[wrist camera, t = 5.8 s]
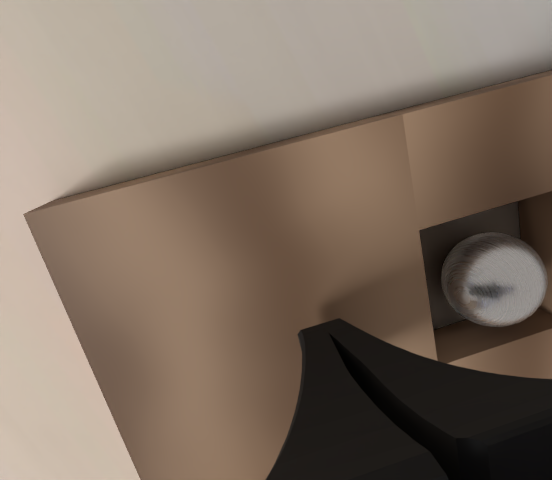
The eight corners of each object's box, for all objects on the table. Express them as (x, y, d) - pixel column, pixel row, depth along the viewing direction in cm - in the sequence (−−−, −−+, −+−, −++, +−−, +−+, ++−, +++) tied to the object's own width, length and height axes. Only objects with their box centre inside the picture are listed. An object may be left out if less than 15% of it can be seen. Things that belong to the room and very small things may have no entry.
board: (203, 566, 17) (203, 621, 15) (51, 201, 12) (23, 214, 10) (582, 428, 19) (625, 461, 17) (575, 63, 14) (633, 53, 12)
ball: (473, 284, 17) (421, 317, 15) (478, 211, 15) (422, 239, 14) (560, 318, 14) (507, 361, 13) (574, 233, 13) (517, 270, 11)
